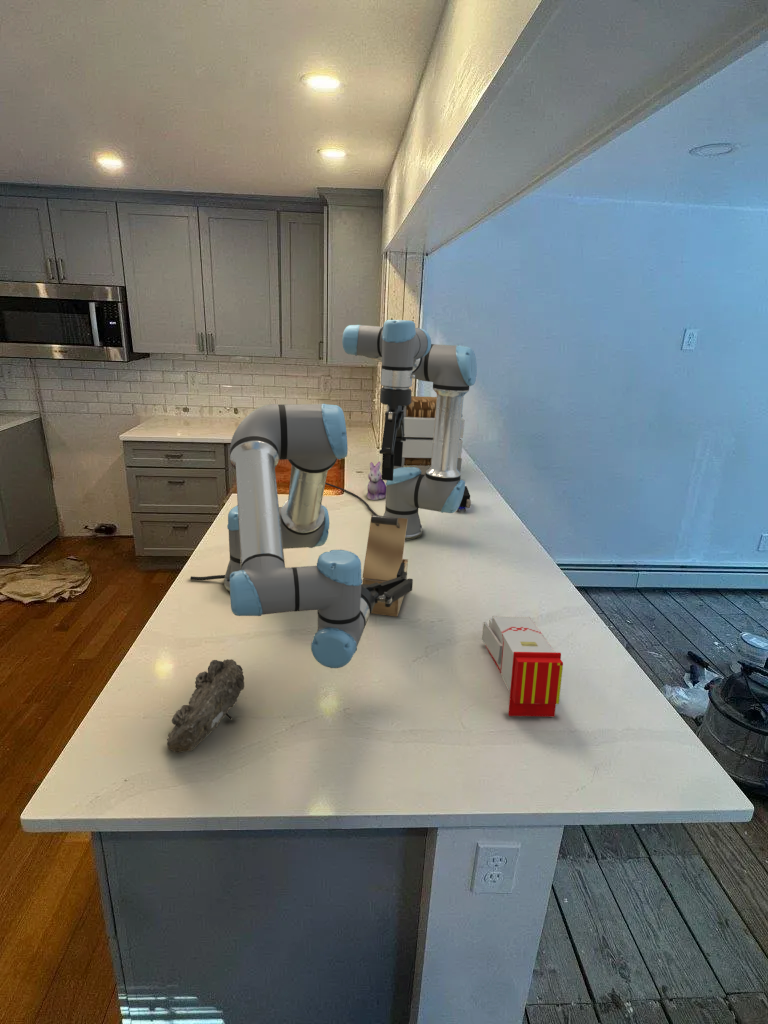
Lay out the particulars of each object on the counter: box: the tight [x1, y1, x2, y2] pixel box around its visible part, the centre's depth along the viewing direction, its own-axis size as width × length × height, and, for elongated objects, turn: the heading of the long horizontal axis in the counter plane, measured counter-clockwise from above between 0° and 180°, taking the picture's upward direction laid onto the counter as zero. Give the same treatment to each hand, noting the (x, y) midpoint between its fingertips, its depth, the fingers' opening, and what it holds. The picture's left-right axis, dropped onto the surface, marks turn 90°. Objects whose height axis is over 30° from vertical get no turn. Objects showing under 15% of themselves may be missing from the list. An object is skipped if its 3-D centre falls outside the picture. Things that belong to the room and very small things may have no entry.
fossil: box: [166, 658, 245, 754], centre depth 106 cm, size 22×10×15 cm
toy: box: [481, 615, 564, 718], centre depth 123 cm, size 12×13×30 cm
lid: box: [361, 514, 408, 581], centre depth 142 cm, size 16×10×8 cm
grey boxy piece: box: [386, 395, 465, 473], centre depth 268 cm, size 34×33×41 cm
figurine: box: [366, 461, 386, 501], centre depth 235 cm, size 9×10×15 cm
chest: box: [362, 558, 409, 617], centre depth 152 cm, size 16×10×9 cm, turn 169°
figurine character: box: [456, 485, 472, 513], centre depth 228 cm, size 7×8×15 cm
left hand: (373, 564), depth 130 cm, fingers open, 13 cm apart
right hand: (392, 472), depth 143 cm, fingers open, 13 cm apart
